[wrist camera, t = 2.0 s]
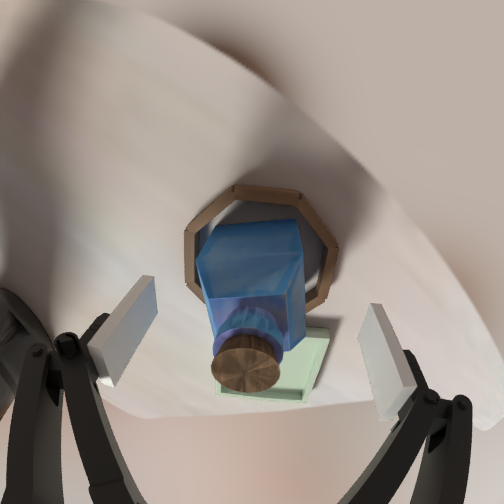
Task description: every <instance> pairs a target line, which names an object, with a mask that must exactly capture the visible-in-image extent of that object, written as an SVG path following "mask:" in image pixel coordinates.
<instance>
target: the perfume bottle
mask: <svg viewBox="0 0 504 504" xmlns="http://www.w3.org/2000/svg"><path fill="white" fill-rule="evenodd" d="M195 261H196V265H197V270H198V274H199V278H200V283H201V287H202V291H203V295H204V299H205V303H206V307H207V311H208V315H209V319H210V323H211V327H212V331H213V334H214V338H215V340H214V344H213V355H214V357H215V358H214V359H213V362H212V364H211V372H212V374H213V376H214V378H215V379H216V380H217V381H218V382H219V383H220V384H221V385H223V386H225V387H226V388H228V389H230V390H234V391H237V392H243V393H255V392H261V391H264V390H267V389H269V388H271V387H272V386H274V385H275V384H276V383H277V381H278V380H279V378H280V372H281V371H280V367H279V365H280V363H281V362H282V360H283V354H284V352H290V351H291V350H292V349H293V348H294V347H295V346H296V345H297V344H298V343H300V342H301V341H302V340H303V339H304V338H305V337H306V312H305V281H304V259H303V249H302V244H301V240H300V235H299V230H298V226H297V222H296V218H294V219H282V220H271V221H260V222H249V223H238V224H228V225H218V226H215V228H214V229H213V231H212V233H211V234H210V236H209V238H208V240H207V241H206V243H205V245H204V246H203V248H202V250H201V251H200V253H199V255H198V257H197V258H196V260H195Z"/></svg>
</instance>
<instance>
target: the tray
mask: <svg viewBox="0 0 504 504" xmlns="http://www.w3.org/2000/svg"><path fill="white" fill-rule="evenodd" d="M329 341H330V336H329V331H328V328H315V327H306V337H305V338H304V339H303V340H302V341H301V342H300V343H298V344H297V345H296V346H295V347H294V348H293V349H292V350H291V351H290V352H284V354H283V360H282V362H281V363H280V365H279V367H280V371H281V372H280V378H279V380H278V381H277V383H276V384H275V385H274V386H272V387H271V388H269V389H267V390H264V391H261V392H255V393H243V392H237V391H234V390H230V389H228V388H226V387H225V386H223V385H221V384H220V383H219V382H218V381H217V380H216V379H215V395H220V396H227V397H235V398H243V399H252V400H261V401H273V402H287V403H306V402H307V400H308V397H309V395H310V392H311V390H312V387H313V385H314V382H315V380H316V377H317V374H318V372H319V369H320V366H321V364H322V361H323V358H324V355H325V352H326V349H327V347H328V344H329Z"/></svg>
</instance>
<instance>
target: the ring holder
mask: <svg viewBox="0 0 504 504" xmlns="http://www.w3.org/2000/svg"><path fill="white" fill-rule="evenodd" d="M235 200H246V201H256V202H265V203H274V204H282V205H290V206H296V207H297V209H298V210H299V211H300V213H301V214H302V215H303V216H304V218H305V219H306V220H307V222H308V223H309V224H310V225H311V227H312V228H313V229H314V231H315V232H316V233H317V235H318V236H319V237H320V239H321V240H322V241H323V243H324V244H325V248H324V253H323V257H322V262H321V267H320V271H319V276H318V280H317V285H316V288H314V289H313V290H311V291H310V292H308V293H306V294H305V312H306V313H307V312H309V311H311V310H312V309H314V308H315V307H317V306H319V305H320V304H322V303H323V302H325V300H324V299H327V297H328V293H329V289H330V285H331V281H332V277H333V273H334V269H335V265H336V261H337V256H338V252H339V247H338V243H337V241H336V239H335V237H334V236H333V235H332V233H331V232H330V230H329V229H328V228H327V226H326V225H325V224H324V222H323V221H322V220H321V218H320V217H319V216H318V214H317V213H316V212H315V210H314V209H313V208H312V206H311V205H310V204H309V202H308V201H307V200H306V198H305V197H304V196H303V195H302V193H301V194H299V192H298V191H293V190H285V189H276V188H268V187H258V186H249V185H238V184H237V185H236V187H234V186H232V187H231V188H230V189H229V190H227V191H226V192H225V193H224V194H223V195H221V196H220V197H219V198H218V199H217V200H215V201H214V202H213V203H212V204H211V205H210V206H208V207H207V208H206V209H205V210H204V211H203V212H201V213H200V214H199V215H198V216H197V217H196V218H195V219H193V220H192V221H191V222H190V223H189V224H188V226H187V227H186V229H185V231H184V262H185V283H187V285H186V286H187V287H188V288H189V289H190V290H191V291H192V292H193V293H194V294H195V295H196V296H197V297H198V298H199V299H200V300H201V301H202V302H203V303H204V304H205V305H206V303H205V299H204V295H203V291H202V287H201V283H200V278H199V274H198V270H197V265H196V261H195V260H196V258H197V257H198V255H199V230H200V229H201V228H202V227H204V226H205V225H206V224H207V223H208V222H209V221H211V220H212V219H213V218H214V217H215V216H217V215H218V214H219V213H220V212H221V211H223V210H224V209H225V208H226V207H228V206H229V205H230V204H231V203H232V202H234V201H235Z"/></svg>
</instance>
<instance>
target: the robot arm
mask: <svg viewBox="0 0 504 504" xmlns="http://www.w3.org/2000/svg"><path fill="white" fill-rule="evenodd" d="M157 313H158V311H157V302H156V292H155V282H154V277H153V276H147V275H142V277H141V278H140V279H139V280H138V281H137V283H136V284H135V285H134V286H133V287H132V288H131V290H130V291H129V292H128V293H127V295H126V296H125V297H124V298H123V299H122V301H121V302H120V303H119V304H118V306H117V307H116V308H115V309H114V311H113V312H112V313H111V314H107V313H103V314H102V315H100V316H99V317H97V318H96V319H95V321H94V322H93V323H92V324H91V325H90V327H89V329H87V330H86V332H85V333H84V334H83V335H82V337H81V338H80V339H78V336H77V335H76V334H75V333H72V332H65V333H62V334H60V335H59V336H57V337H56V339H55V341H54V345H55V347H56V350H57V351H54V349H53V346H52V343H51V341H50V339H49V337H48V335H47V333H46V332H45V330H44V328H43V327H42V325H41V324H40V322H39V321H38V320H37V318H36V317H35V316H34V314H33V313H32V312H31V311H30V310H29V308H28V307H27V306H26V305H25V304H24V303H23V302H22V301H21V300H20V299H19V298H18V297H16V296H15V295H14V294H13V293H11V292H10V291H8V290H6V289H3V288H0V421H1V419H2V417H3V416H4V414H5V413H6V411H7V409H8V408H9V406H10V405H11V403H12V402H13V400H14V399H15V403H14V407H13V413H12V419H11V426H10V434H9V443H8V455H7V473H6V489H5V492H4V495H3V498H2V501H1V504H64V498H63V487H62V473H61V472H62V471H61V422H62V405H63V394H64V393H63V392H64V391H65V397H66V402H67V407H68V412H69V416H70V420H71V425H72V429H73V433H74V436H75V440H76V444H77V447H78V450H79V453H80V457H81V460H82V463H83V466H84V469H85V472H86V475H87V477H88V480H89V483H90V486H89V493H90V496H91V499H92V501H93V504H147V503H146V501H145V500H144V498H143V497H142V495H141V493H140V492H139V490H138V488H137V486H136V484H135V482H134V480H133V478H132V476H131V474H130V472H129V469H128V467H127V465H126V463H125V461H124V458H123V456H122V454H121V451H120V449H119V446H118V444H117V442H116V439H115V436H114V434H113V431H112V429H111V426H110V423H109V420H108V417H107V415H106V412H105V409H104V406H103V403H102V399H101V396H100V393H99V390H98V386H97V383H96V380H97V379H98V377H99V378H100V380H101V382H102V384H105V385H108V386H111V387H114V388H115V386H116V384H117V382H118V381H119V379H120V377H121V375H122V373H123V372H124V370H125V368H126V366H127V364H128V363H129V361H130V359H131V357H132V356H133V354H134V352H135V351H136V349H137V347H138V345H139V344H140V342H141V340H142V339H143V337H144V335H145V333H146V332H147V330H148V328H149V327H150V325H151V323H152V322H153V320H154V318H155V317H156V315H157ZM358 341H359V344H360V348H361V351H362V355H363V358H364V362H365V366H366V369H367V373H368V377H369V380H370V384H371V388H372V392H373V396H374V400H375V404H376V408H377V413H378V417H379V421H387V420H393V419H394V417H395V416H396V415H397V413H398V416H399V420H398V421H397V423H396V424H395V425H394V426H393V427H392V429H391V433H390V434H389V436H388V437H387V439H386V440H385V442H384V443H383V445H382V446H381V448H380V449H379V451H378V452H377V454H376V455H375V457H374V458H373V459H372V461H371V462H370V464H369V465H368V466H367V468H366V469H365V471H364V472H363V473H362V474H361V476H360V477H359V478H358V480H357V481H356V482H355V483H354V485H353V486H352V487H351V488H350V490H349V491H348V492H347V493H346V494H345V495H344V497H343V498H342V499H341V500H340V501H339V502H338V503H337V504H388V503H389V502H390V500H391V498H392V497H393V496H394V494H395V492H396V491H397V489H398V488H399V486H400V484H401V483H402V481H403V480H404V478H405V476H406V474H407V473H408V471H409V469H410V467H411V466H412V464H413V462H414V460H415V458H416V456H417V454H418V453H419V451H420V449H421V446H422V444H423V443H424V440H425V438H426V443H425V448H424V453H423V457H422V461H421V466H420V470H419V474H418V478H417V482H416V485H415V488H414V492H413V495H412V498H411V501H410V504H463V503H464V498H465V493H466V487H467V480H468V473H469V466H470V455H471V443H472V403H471V401H470V399H469V398H467V397H466V396H464V395H457V396H455V397H454V399H453V400H452V401H451V400H445V399H441V398H440V396H439V395H438V393H437V392H435V391H434V390H432V389H429V388H428V385H427V383H426V381H425V378H424V376H423V374H422V371H421V370H420V367H419V364H418V362H417V360H416V358H415V356H414V355H413V354H412V353H411V351H410V350H402V347H401V345H400V343H399V341H398V338H397V336H396V334H395V332H394V330H393V327H392V325H391V323H390V321H389V319H388V317H387V315H386V312H385V310H384V308H383V306H382V304H375V303H370V306H369V308H368V311H367V314H366V317H365V319H364V322H363V325H362V327H361V330H360V333H359V335H358ZM426 436H427V437H426Z"/></svg>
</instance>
